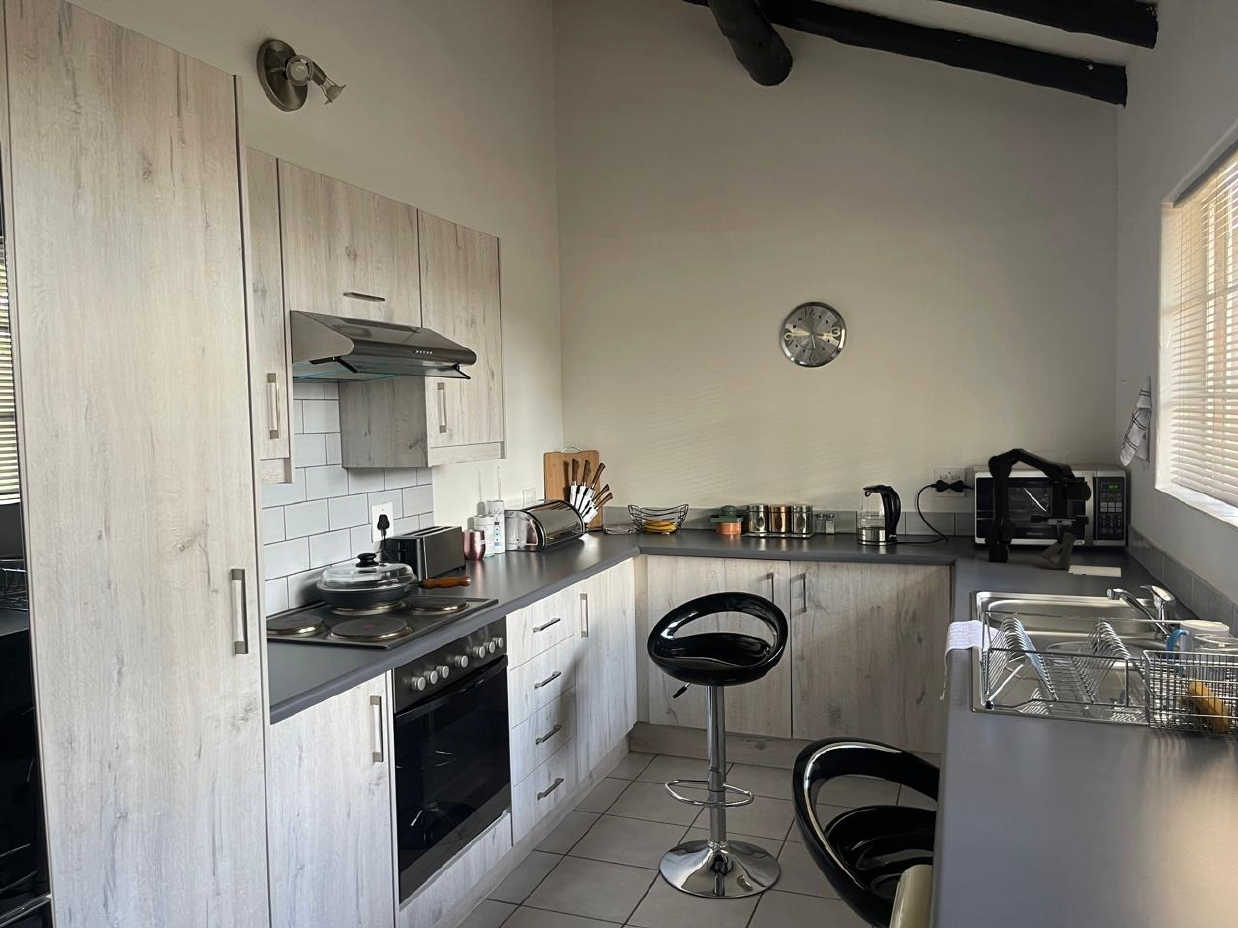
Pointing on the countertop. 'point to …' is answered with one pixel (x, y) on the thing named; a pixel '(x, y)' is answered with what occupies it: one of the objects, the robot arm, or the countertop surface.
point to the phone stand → (1065, 553)
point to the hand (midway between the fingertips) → (1059, 543)
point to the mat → (1095, 570)
